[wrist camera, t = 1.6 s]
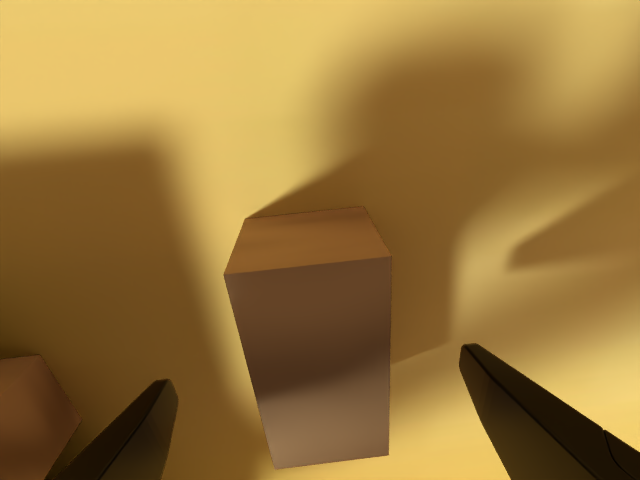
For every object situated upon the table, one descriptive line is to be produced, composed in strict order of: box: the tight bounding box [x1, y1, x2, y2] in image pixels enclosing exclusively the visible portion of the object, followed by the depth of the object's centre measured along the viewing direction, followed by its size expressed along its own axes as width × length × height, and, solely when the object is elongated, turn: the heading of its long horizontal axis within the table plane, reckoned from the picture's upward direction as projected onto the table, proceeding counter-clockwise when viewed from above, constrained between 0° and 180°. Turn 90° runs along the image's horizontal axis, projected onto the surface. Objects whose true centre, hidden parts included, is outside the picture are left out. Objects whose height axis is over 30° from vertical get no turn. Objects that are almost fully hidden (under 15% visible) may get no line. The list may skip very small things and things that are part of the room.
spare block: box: [223, 206, 392, 469], centre depth 11 cm, size 8×4×4 cm, turn 5°
